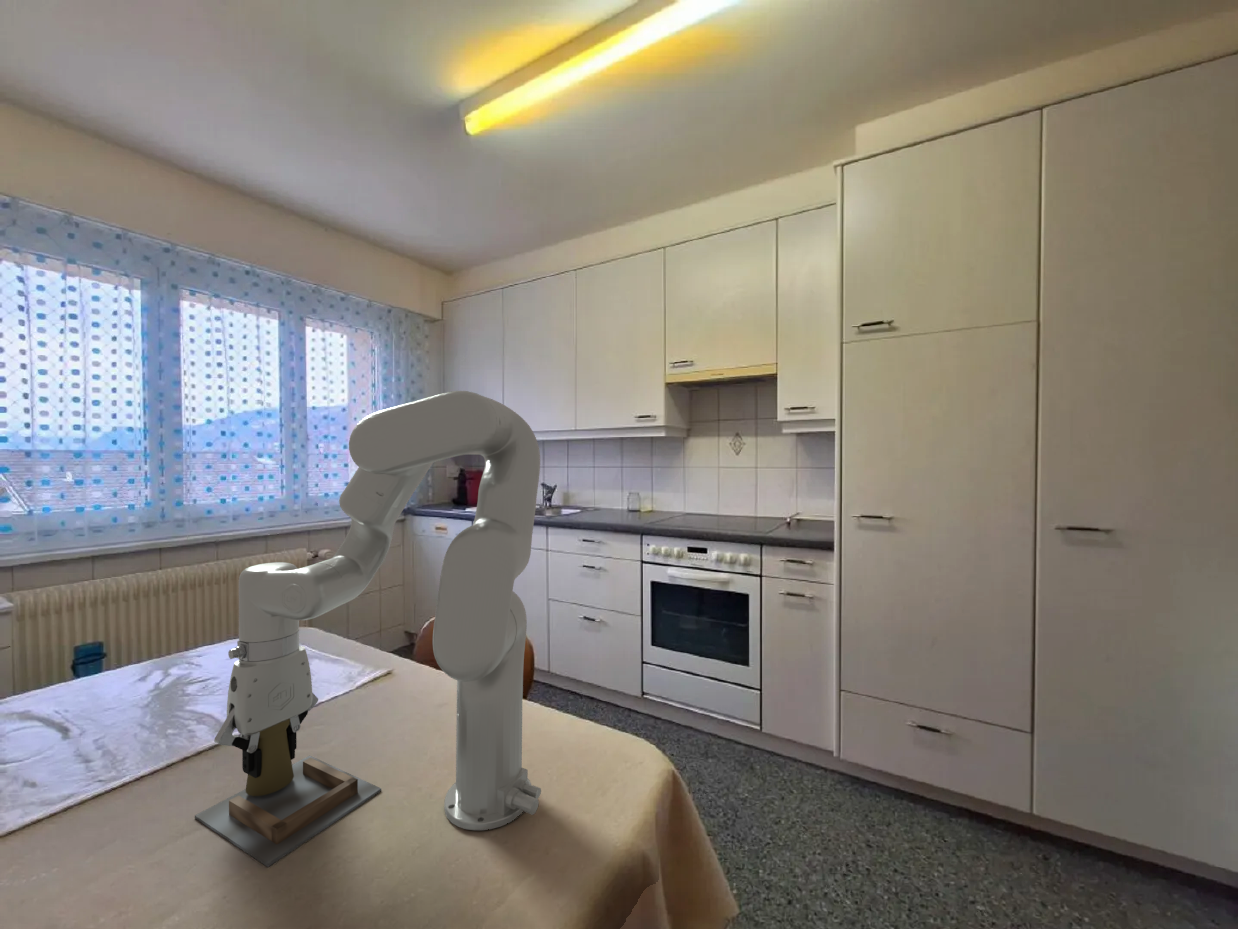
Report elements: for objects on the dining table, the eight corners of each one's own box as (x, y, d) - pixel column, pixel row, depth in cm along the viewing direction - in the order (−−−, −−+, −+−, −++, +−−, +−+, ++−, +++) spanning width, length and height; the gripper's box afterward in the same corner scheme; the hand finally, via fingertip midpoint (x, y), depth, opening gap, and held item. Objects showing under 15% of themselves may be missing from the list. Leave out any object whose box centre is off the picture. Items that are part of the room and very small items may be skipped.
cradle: (381, 791, 76) (381, 775, 76) (267, 867, 61) (267, 848, 61) (309, 757, 84) (309, 743, 84) (194, 818, 69) (194, 801, 69)
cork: (303, 771, 78) (303, 702, 78) (272, 797, 72) (272, 722, 72) (268, 769, 79) (267, 700, 79) (234, 794, 73) (234, 720, 73)
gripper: (217, 671, 66) (218, 808, 66) (338, 632, 81) (338, 744, 81) (190, 661, 69) (190, 790, 70) (310, 625, 84) (311, 732, 84)
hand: (270, 764), depth 75 cm, fingers closed on cork, 4 cm apart
